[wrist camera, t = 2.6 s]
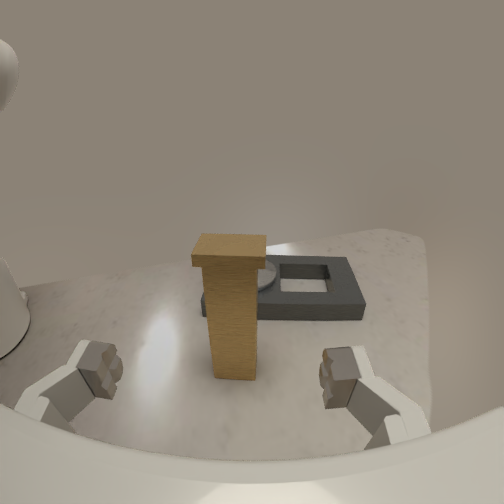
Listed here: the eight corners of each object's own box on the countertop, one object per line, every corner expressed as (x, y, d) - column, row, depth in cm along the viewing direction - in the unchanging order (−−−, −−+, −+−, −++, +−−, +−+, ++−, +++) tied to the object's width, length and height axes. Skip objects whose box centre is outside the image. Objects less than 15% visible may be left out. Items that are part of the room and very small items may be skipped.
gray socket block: (202, 316, 36) (200, 295, 34) (217, 267, 46) (216, 248, 45) (361, 319, 35) (367, 298, 33) (343, 271, 45) (346, 252, 44)
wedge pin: (208, 379, 27) (190, 254, 20) (213, 354, 30) (201, 233, 24) (261, 383, 27) (265, 256, 20) (262, 356, 30) (266, 235, 23)
